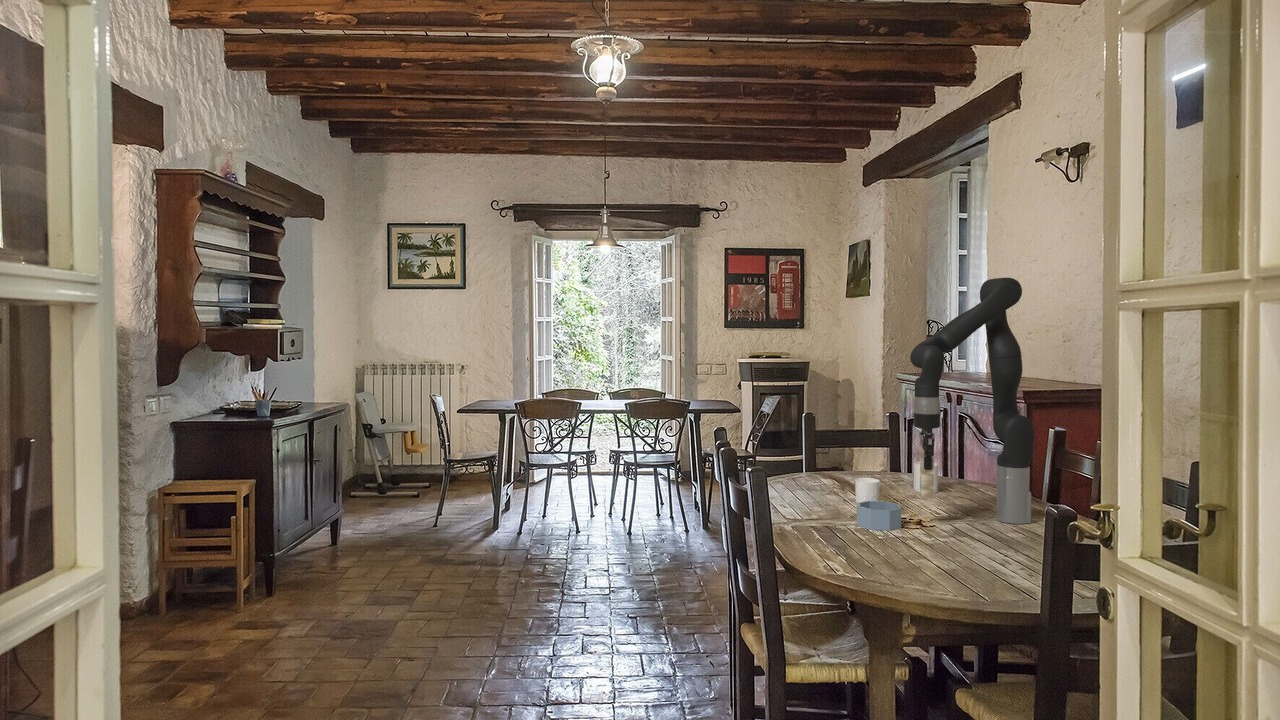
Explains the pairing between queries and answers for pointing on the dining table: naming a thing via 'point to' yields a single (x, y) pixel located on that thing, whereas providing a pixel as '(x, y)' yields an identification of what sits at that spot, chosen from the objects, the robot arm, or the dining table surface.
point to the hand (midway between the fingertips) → (926, 467)
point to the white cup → (867, 489)
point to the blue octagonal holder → (879, 515)
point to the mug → (917, 477)
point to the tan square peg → (926, 478)
